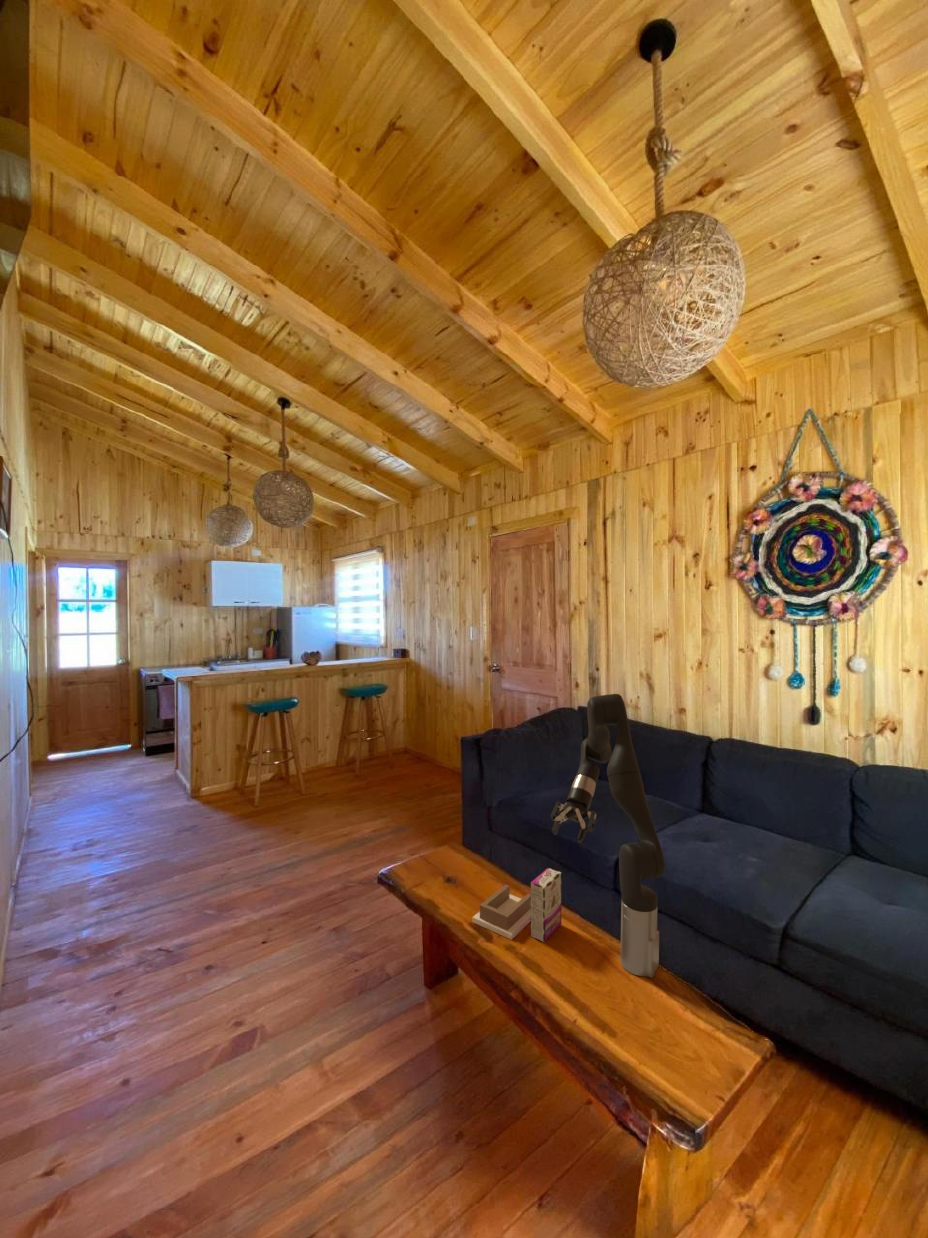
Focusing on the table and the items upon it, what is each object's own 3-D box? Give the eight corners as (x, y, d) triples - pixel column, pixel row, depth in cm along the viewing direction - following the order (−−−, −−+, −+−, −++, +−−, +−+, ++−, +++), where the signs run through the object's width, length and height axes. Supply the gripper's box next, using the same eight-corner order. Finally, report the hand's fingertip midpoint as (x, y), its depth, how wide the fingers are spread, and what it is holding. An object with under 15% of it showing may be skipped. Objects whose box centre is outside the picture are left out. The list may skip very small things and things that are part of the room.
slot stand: (540, 911, 164) (540, 894, 164) (511, 940, 149) (511, 921, 149) (503, 896, 172) (503, 880, 172) (472, 922, 158) (472, 904, 158)
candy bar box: (547, 919, 160) (547, 867, 160) (561, 925, 157) (562, 872, 157) (529, 937, 151) (529, 882, 151) (544, 943, 148) (545, 887, 148)
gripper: (559, 782, 175) (542, 826, 166) (599, 791, 167) (584, 838, 158) (565, 792, 180) (550, 836, 171) (604, 802, 171) (590, 849, 162)
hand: (566, 837), depth 164 cm, fingers open, 8 cm apart
